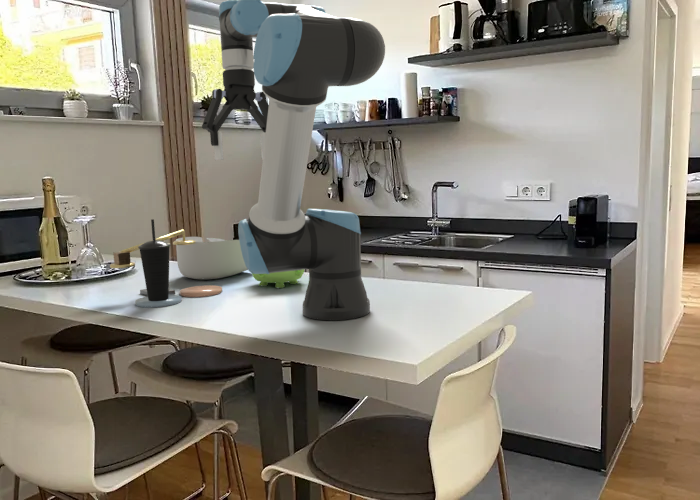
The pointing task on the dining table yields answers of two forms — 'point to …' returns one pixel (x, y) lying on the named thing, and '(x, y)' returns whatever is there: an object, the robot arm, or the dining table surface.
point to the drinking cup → (156, 267)
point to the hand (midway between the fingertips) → (243, 159)
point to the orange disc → (200, 291)
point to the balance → (124, 255)
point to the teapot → (279, 278)
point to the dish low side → (150, 304)
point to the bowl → (210, 258)
